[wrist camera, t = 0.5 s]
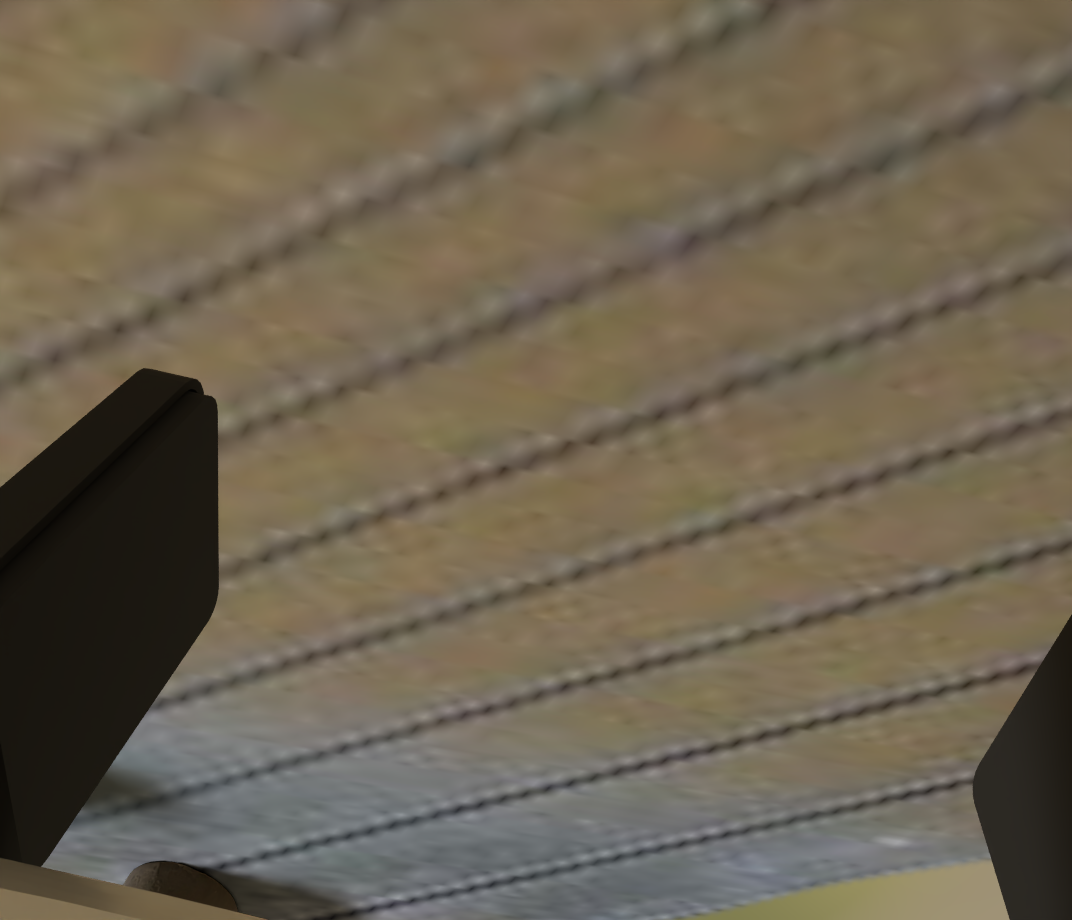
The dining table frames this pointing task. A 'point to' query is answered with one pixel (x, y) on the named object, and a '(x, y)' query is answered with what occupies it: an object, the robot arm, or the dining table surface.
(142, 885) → the pillar candle
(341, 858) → the dining table surface
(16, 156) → the dining table surface
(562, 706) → the dining table surface
